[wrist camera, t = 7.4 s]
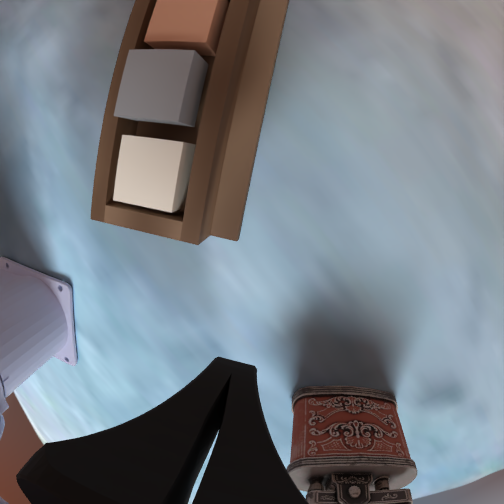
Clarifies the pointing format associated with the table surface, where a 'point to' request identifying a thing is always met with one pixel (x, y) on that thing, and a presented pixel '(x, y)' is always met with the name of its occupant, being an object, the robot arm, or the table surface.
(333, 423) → the lighter
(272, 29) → the keypad board
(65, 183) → the table surface
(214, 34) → the key terracotta
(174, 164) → the key cream
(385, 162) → the table surface
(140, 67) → the key slate
